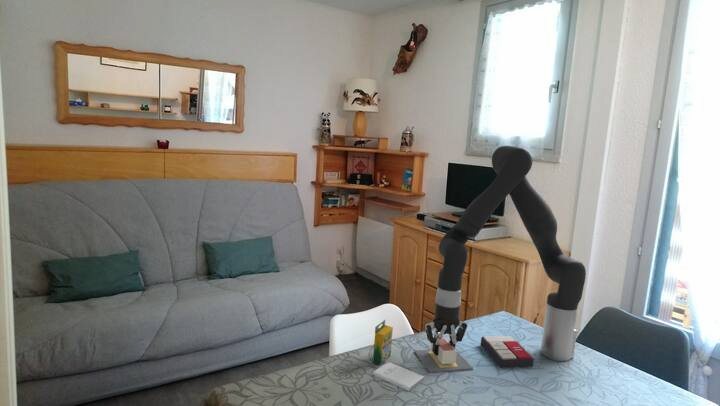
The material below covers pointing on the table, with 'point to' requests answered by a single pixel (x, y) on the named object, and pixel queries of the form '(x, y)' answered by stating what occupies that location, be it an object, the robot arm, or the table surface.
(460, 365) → the rubber mat
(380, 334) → the crayon box
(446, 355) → the card deck
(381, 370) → the external hard drive
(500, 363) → the calculator
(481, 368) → the table surface
